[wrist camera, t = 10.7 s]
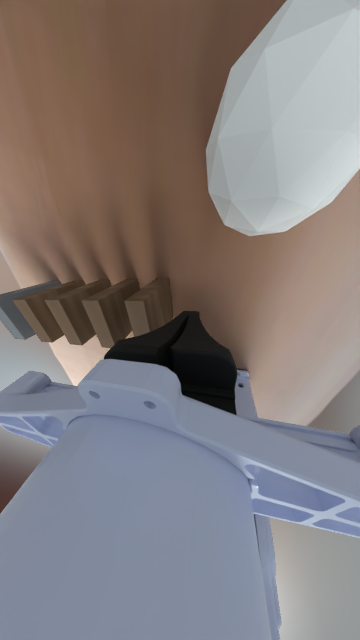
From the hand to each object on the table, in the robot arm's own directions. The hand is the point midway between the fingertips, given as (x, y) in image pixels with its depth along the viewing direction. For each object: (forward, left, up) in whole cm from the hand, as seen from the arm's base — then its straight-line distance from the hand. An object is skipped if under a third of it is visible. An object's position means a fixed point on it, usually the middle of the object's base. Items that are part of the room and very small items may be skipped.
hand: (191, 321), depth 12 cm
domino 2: (+16, 0, -6) cm, 17 cm away
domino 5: (+4, 0, -6) cm, 7 cm away
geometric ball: (-5, -10, -6) cm, 12 cm away
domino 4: (+8, 0, -6) cm, 10 cm away
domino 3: (+12, 0, -6) cm, 13 cm away
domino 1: (+20, 0, -5) cm, 21 cm away
